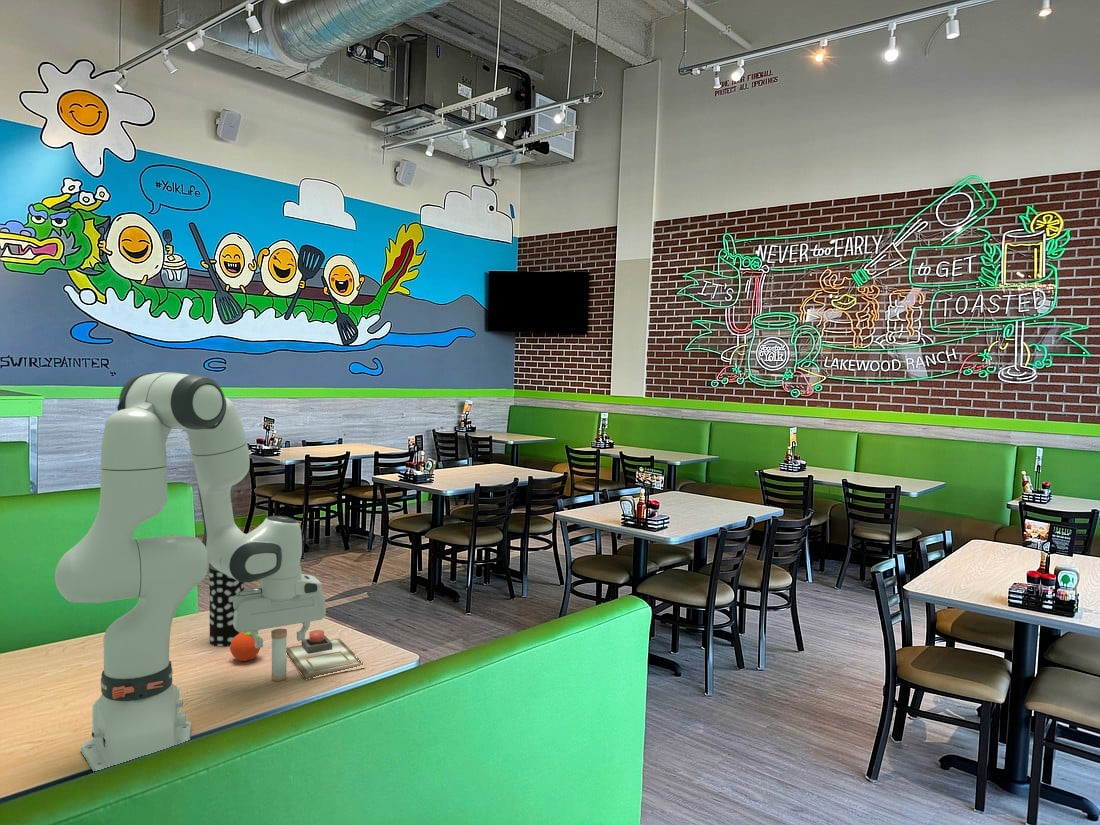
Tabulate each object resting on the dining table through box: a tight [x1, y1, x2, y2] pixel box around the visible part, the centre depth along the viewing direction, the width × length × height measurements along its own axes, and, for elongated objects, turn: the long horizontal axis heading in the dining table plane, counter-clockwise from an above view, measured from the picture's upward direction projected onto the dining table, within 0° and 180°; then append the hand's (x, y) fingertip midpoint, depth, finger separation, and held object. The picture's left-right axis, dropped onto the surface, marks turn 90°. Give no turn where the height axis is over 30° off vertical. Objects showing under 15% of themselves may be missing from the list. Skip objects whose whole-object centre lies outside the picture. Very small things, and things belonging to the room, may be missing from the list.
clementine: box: [229, 631, 261, 662], centre depth 187 cm, size 8×7×7 cm
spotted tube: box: [208, 568, 245, 647], centre depth 199 cm, size 8×8×20 cm
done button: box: [308, 629, 325, 642], centre depth 193 cm, size 4×4×2 cm
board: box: [286, 635, 364, 680], centre depth 188 cm, size 20×14×3 cm
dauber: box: [270, 628, 288, 682], centre depth 177 cm, size 3×3×11 cm
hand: (280, 643), depth 177 cm, fingers open, 8 cm apart
